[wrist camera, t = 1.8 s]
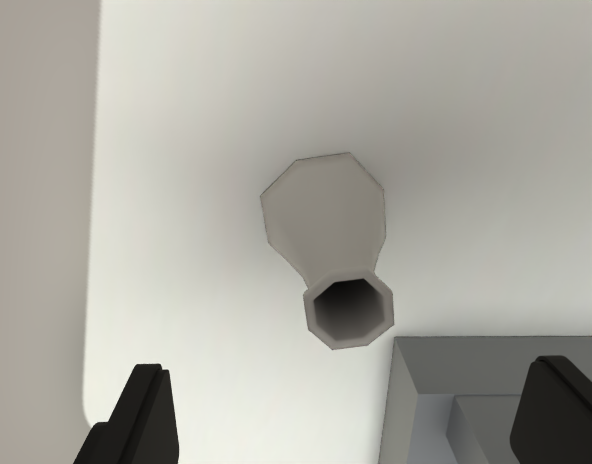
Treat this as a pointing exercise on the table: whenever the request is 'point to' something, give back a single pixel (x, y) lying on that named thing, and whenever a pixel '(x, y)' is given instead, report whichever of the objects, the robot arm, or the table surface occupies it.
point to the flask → (333, 246)
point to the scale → (463, 395)
